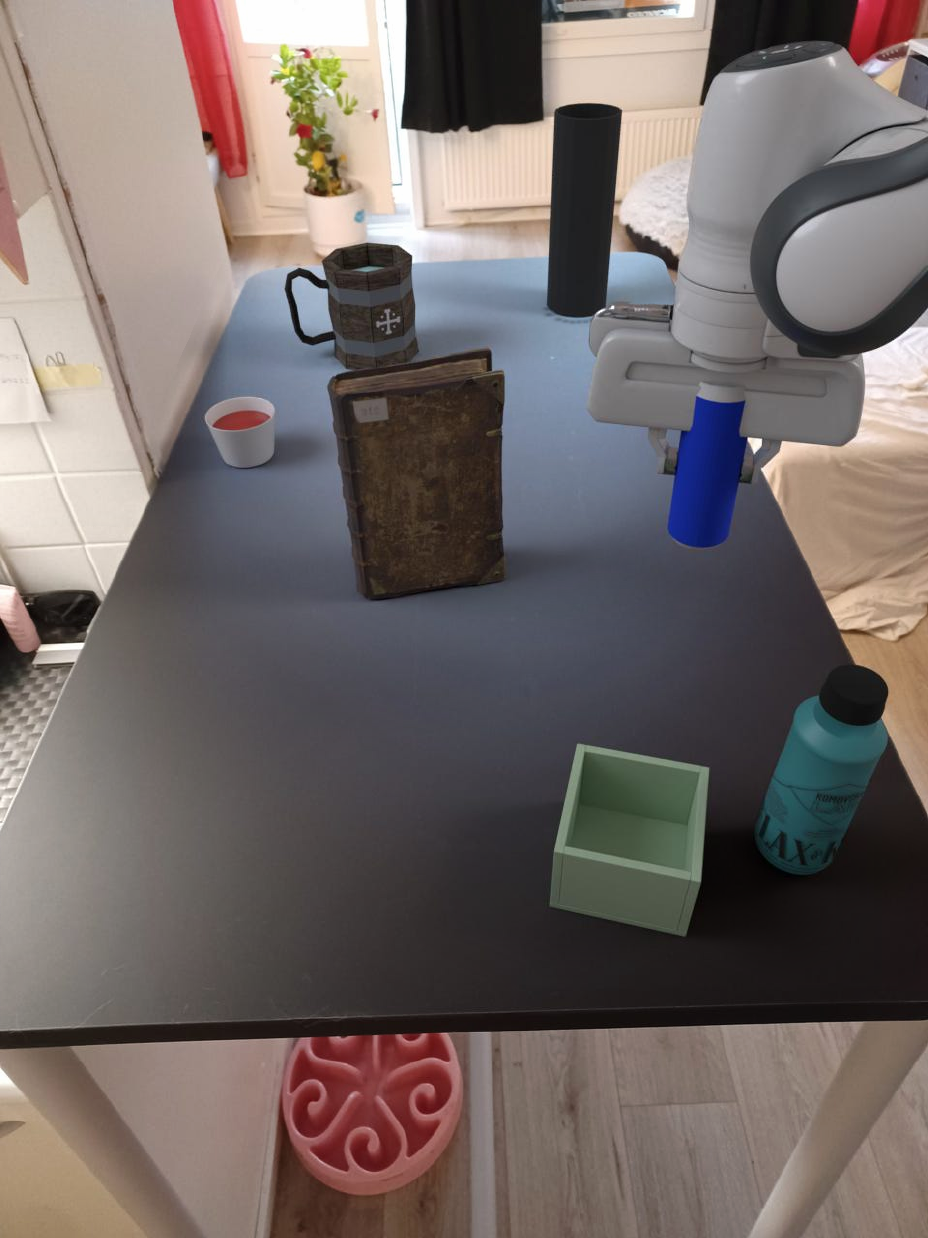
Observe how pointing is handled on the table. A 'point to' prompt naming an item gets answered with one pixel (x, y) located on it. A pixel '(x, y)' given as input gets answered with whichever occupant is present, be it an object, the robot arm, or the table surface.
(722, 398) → the beverage can
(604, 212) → the vase
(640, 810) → the bin
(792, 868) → the beverage bottle
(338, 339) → the mug
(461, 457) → the book
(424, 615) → the table surface
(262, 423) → the white cup
